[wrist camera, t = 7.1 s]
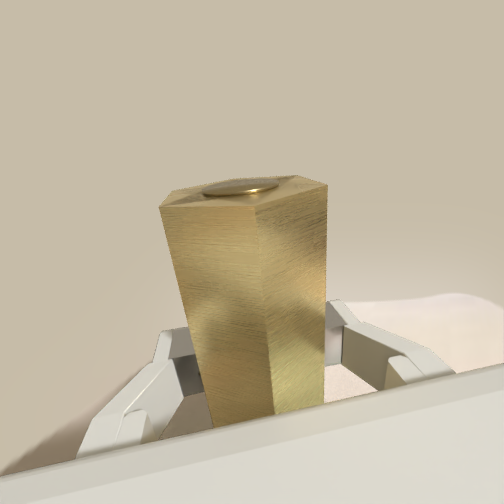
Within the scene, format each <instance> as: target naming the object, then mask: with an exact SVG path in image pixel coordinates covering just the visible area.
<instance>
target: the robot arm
mask: <svg viewBox="0 0 504 504" xmlns="http://www.w3.org/2000/svg"><path fill="white" fill-rule="evenodd" d="M336 364H342V365H343V366H344V367H346V368H347V369H349V370H350V371H351V372H353V373H354V374H356V375H357V376H358V377H360V378H361V379H363V380H364V381H365V382H367V383H368V384H370V385H371V386H372V387H374V388H375V389H377V390H378V391H377V392H372V393H368V394H363V395H359V396H354V397H350V398H346V399H341V400H337V401H332V402H328V403H323V404H319V405H314V406H310V407H306V408H301V409H297V410H292V411H288V412H283V413H279V414H274V415H270V416H265V417H261V418H257V419H252V420H248V421H243V422H239V423H234V424H230V425H226V426H221V427H217V428H212V429H208V430H204V431H199V432H195V433H190V434H186V435H181V436H177V437H173V438H168V439H164V440H159V438H160V436H161V435H162V433H163V431H164V430H165V428H166V426H167V425H168V423H169V421H170V420H171V418H172V416H173V415H174V413H175V412H176V410H177V408H178V407H179V405H180V403H181V402H182V400H183V398H184V396H188V395H192V394H197V393H201V392H205V390H204V386H203V382H202V378H201V374H200V370H199V366H198V362H197V358H196V354H195V350H194V346H193V342H192V338H191V334H190V330H189V327H183V328H177V329H171V330H165V331H162V332H161V333H160V335H159V339H158V343H157V346H156V350H155V354H154V357H153V361H152V363H148V364H147V365H146V366H145V367H144V368H143V369H142V370H141V371H140V372H139V373H138V374H137V375H136V376H135V377H134V378H133V379H132V380H131V381H130V382H129V383H128V384H127V385H126V386H125V387H124V388H123V389H122V390H121V391H120V392H119V393H118V394H117V395H116V396H115V397H114V398H113V399H112V400H111V401H110V402H109V403H108V404H107V405H106V406H105V407H104V408H103V409H102V410H101V411H100V412H99V413H98V414H97V415H96V416H95V417H94V418H93V419H92V421H91V423H90V425H89V427H88V430H87V432H86V434H85V437H84V439H83V441H82V444H81V446H80V448H79V450H78V453H77V455H76V457H75V460H70V461H66V462H61V463H57V464H52V465H48V466H44V467H39V468H35V469H30V470H26V471H21V472H17V473H12V474H8V475H4V476H0V504H504V363H501V364H497V365H492V366H488V367H483V368H479V369H474V370H470V371H466V372H461V373H455V372H454V371H453V370H452V369H451V368H450V367H449V366H448V365H447V364H446V363H445V362H443V361H442V360H441V359H440V358H439V357H438V356H437V355H436V354H435V353H434V352H432V351H431V350H430V349H429V348H427V347H424V346H422V345H419V344H417V343H415V342H412V341H410V340H407V339H405V338H402V337H400V336H398V335H395V334H393V333H390V332H388V331H385V330H383V329H380V328H378V327H376V326H373V325H371V324H368V323H366V322H360V321H359V320H358V319H357V318H356V316H355V315H354V314H353V313H352V312H351V311H350V310H349V309H348V307H347V306H346V305H345V304H344V303H343V302H342V301H341V300H339V299H337V300H333V301H327V302H326V304H325V361H324V367H325V366H331V365H336ZM158 440H159V441H158Z"/></svg>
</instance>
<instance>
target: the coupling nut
mask: <svg viewBox="0 0 504 504" xmlns="http://www.w3.org/2000/svg"><path fill="white" fill-rule="evenodd" d="M327 191H328V185H327V184H324V183H320V182H317V181H313V180H311V179H307V178H304V177H301V176H298V175H295V176H276V177H257V178H240V179H230V180H225V181H220V182H215V183H210V184H205V185H200V186H195V187H189V188H184V189H179V190H174V191H172V192H171V193H170V194H169V195H168V197H167V198H166V199H165V200H164V201H163V202H162V204H161V205H160V206H159V210H160V214H161V218H162V222H163V226H164V230H165V234H166V238H167V242H168V246H169V250H170V254H171V258H172V262H173V266H174V270H175V274H176V278H177V282H178V286H179V290H180V294H181V298H182V302H183V306H184V310H185V314H186V318H187V322H188V326H189V330H190V334H191V338H192V342H193V346H194V350H195V354H196V358H197V362H198V366H199V370H200V374H201V378H202V382H203V386H204V390H205V394H206V398H207V403H208V407H209V411H210V415H211V419H212V423H213V427H214V428H217V427H221V426H226V425H230V424H234V423H239V422H243V421H248V420H252V419H257V418H261V417H265V416H270V415H274V414H279V413H283V412H288V411H292V410H297V409H301V408H306V407H310V406H314V405H319V404H323V403H324V361H325V304H326V248H327V242H326V241H327Z"/></svg>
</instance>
